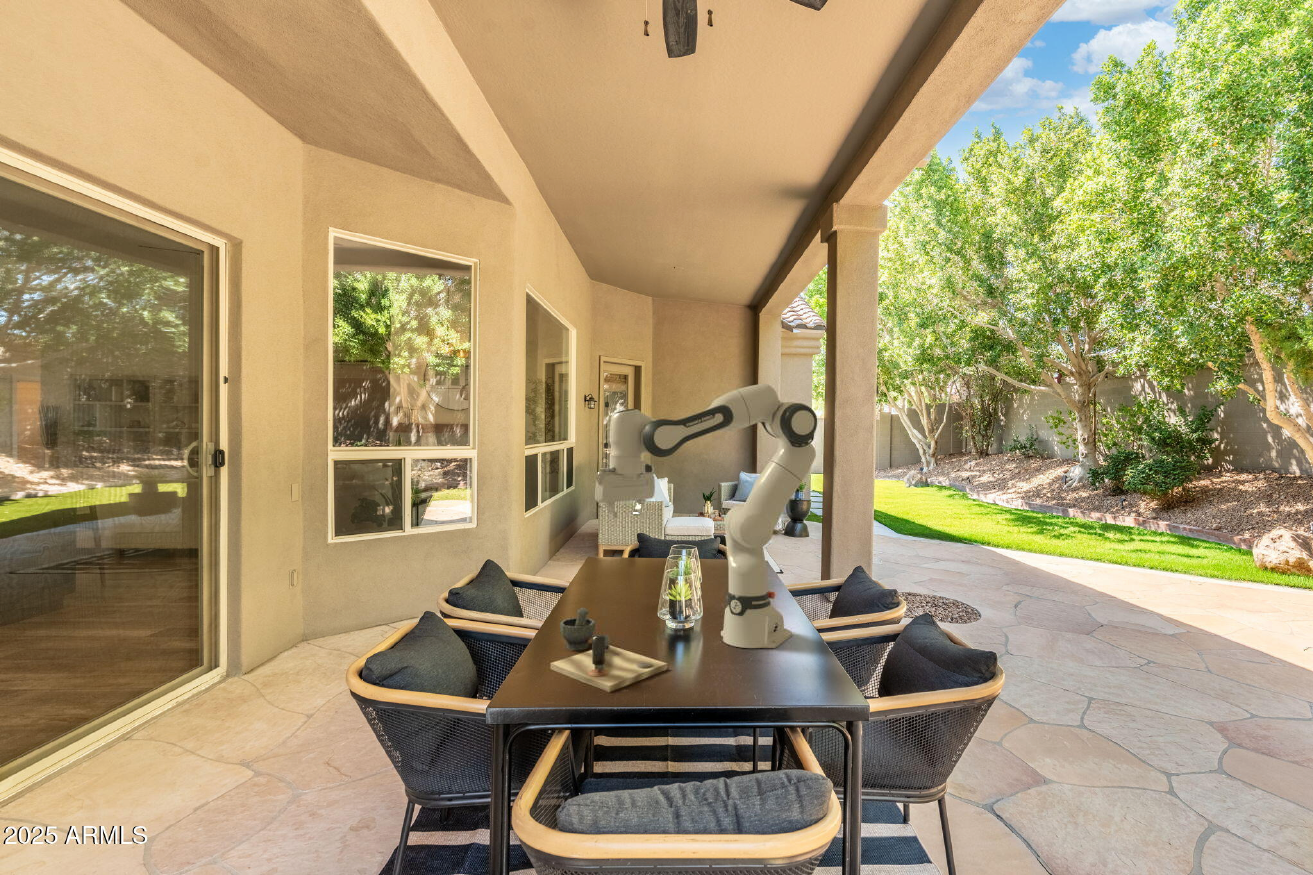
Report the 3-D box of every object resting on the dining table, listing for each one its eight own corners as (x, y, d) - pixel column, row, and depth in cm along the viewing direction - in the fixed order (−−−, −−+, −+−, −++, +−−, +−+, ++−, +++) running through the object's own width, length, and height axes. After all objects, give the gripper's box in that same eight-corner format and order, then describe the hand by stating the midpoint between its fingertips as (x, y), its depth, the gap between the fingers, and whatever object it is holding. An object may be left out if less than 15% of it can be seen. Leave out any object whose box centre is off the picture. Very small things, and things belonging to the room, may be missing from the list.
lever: (609, 645, 173) (609, 615, 173) (606, 671, 154) (606, 638, 154) (594, 645, 173) (594, 616, 173) (590, 671, 153) (590, 638, 153)
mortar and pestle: (556, 643, 182) (556, 602, 183) (587, 639, 186) (587, 598, 186) (568, 655, 172) (567, 611, 172) (600, 651, 176) (600, 607, 176)
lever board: (608, 650, 177) (608, 644, 177) (666, 669, 162) (666, 662, 162) (550, 669, 162) (550, 662, 162) (609, 692, 147) (609, 684, 147)
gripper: (605, 468, 167) (605, 521, 167) (658, 466, 182) (658, 514, 182) (589, 468, 171) (589, 519, 171) (642, 465, 186) (642, 513, 186)
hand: (625, 517), depth 176 cm, fingers open, 8 cm apart
